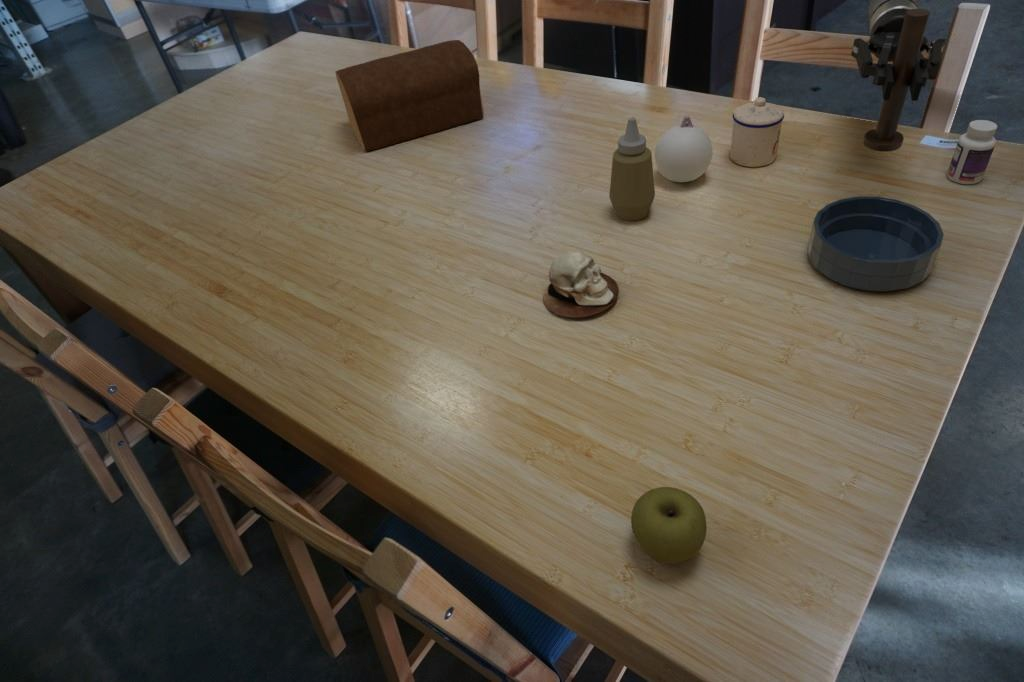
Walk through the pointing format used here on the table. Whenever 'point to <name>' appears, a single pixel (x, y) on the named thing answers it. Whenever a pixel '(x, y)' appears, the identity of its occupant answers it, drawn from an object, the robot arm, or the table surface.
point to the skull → (578, 286)
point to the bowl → (874, 243)
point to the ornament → (683, 152)
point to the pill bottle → (973, 153)
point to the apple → (668, 524)
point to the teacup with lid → (756, 133)
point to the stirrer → (899, 83)
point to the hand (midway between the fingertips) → (902, 91)
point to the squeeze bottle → (632, 175)
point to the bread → (411, 94)
